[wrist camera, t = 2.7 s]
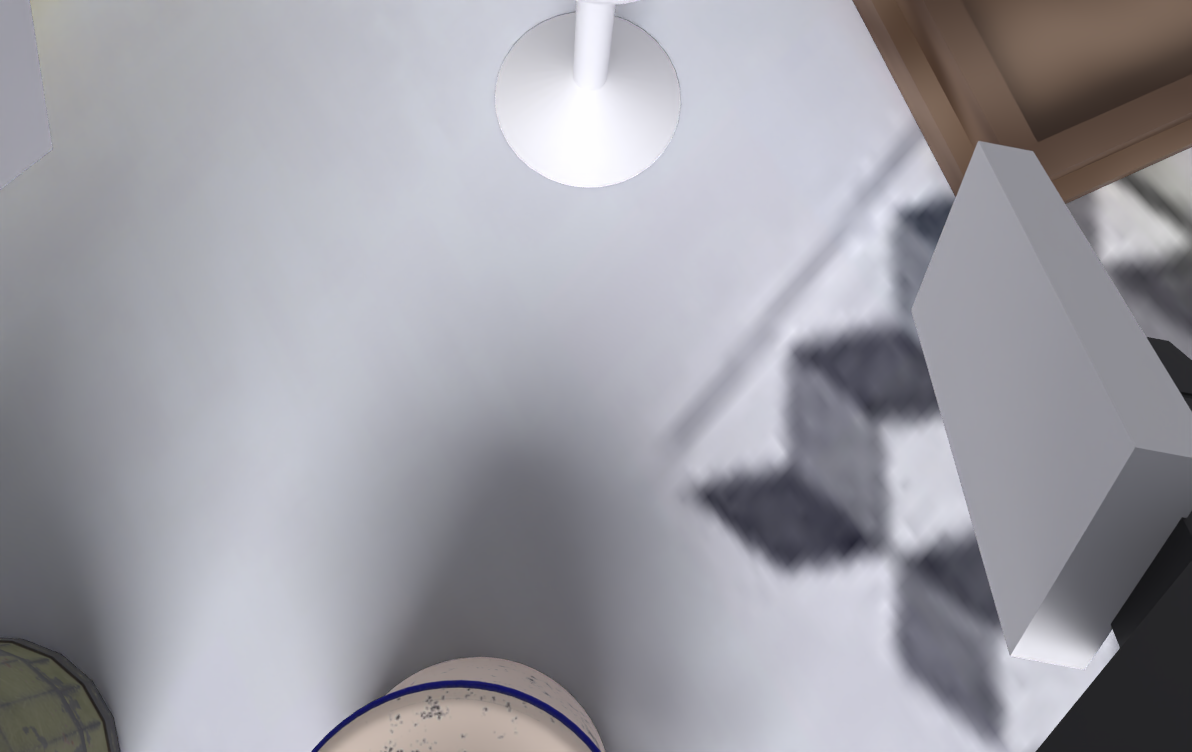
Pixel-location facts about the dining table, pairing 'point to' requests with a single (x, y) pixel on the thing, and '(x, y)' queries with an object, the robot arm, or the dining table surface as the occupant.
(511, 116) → the champagne flute
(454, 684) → the teacup with lid
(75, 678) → the thermos
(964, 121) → the walnut stand
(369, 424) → the dining table surface
